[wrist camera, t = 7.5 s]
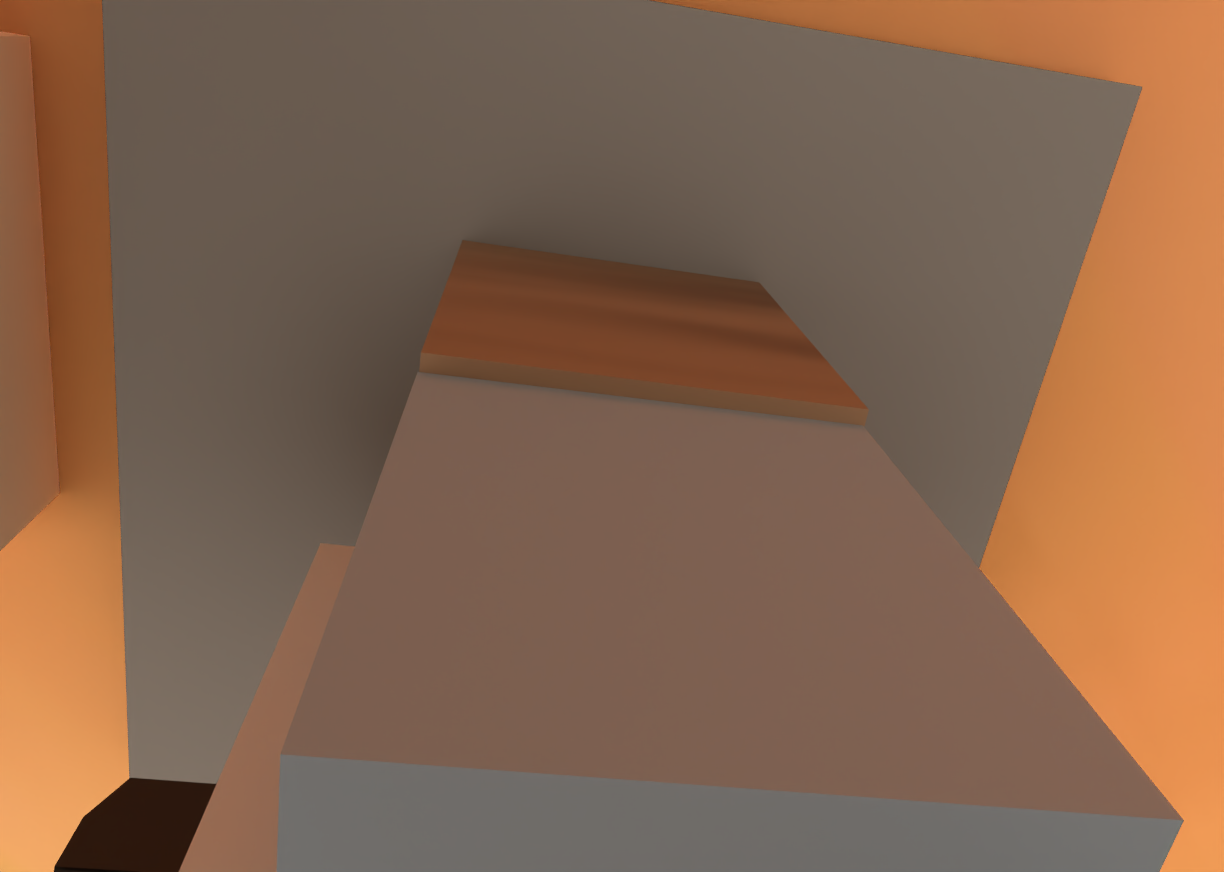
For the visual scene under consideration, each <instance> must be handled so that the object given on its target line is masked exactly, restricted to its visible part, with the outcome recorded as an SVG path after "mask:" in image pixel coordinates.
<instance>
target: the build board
mask: <svg viewBox="0 0 1224 872" xmlns="http://www.w3.org/2000/svg"><path fill="white" fill-rule="evenodd" d="M102 11H103V40H104V68H105V96H106V125H107V153H108V181H109V210H110V238H111V267H112V295H113V323H114V352H115V380H116V409H117V437H118V465H119V494H120V522H121V551H122V579H123V607H124V636H125V664H126V693H127V721H128V749H129V778H143V779H157V780H170V781H184V782H198V783H212V784H217V782H218V780H219V777H220V775H221V773H222V770H223V768H224V766H225V763H226V761H227V759H228V757H229V754H230V752H231V750H232V747H233V745H234V743H235V740H236V738H237V736H238V733H239V731H240V729H241V726H242V724H243V722H244V719H245V717H246V715H247V713H248V710H249V708H250V706H251V703H252V701H253V699H254V696H255V694H256V692H257V689H258V687H259V685H260V682H261V680H262V678H263V675H264V673H265V671H266V668H267V666H268V664H269V662H270V659H271V657H272V655H273V652H274V650H275V648H276V645H277V643H278V641H279V638H280V636H281V634H282V631H283V629H284V627H285V624H286V622H287V620H288V618H289V615H290V613H291V611H292V608H293V606H294V604H295V601H296V599H297V597H298V594H299V592H300V590H301V587H302V585H303V583H304V580H305V578H306V576H307V574H308V571H309V569H310V567H311V564H312V562H313V560H314V557H315V555H316V553H317V550H318V548H319V546H320V543H325V544H335V545H344V546H354V547H355V545H356V542H357V539H358V536H359V534H360V531H361V528H362V525H363V523H364V520H365V517H366V514H367V511H368V509H369V506H370V503H371V500H372V497H373V495H374V492H375V489H376V486H377V484H378V481H379V478H380V475H381V472H382V470H383V467H384V464H385V461H386V458H387V456H388V453H389V450H390V447H391V445H392V442H393V439H394V436H395V433H396V431H397V428H398V425H399V422H400V419H401V417H402V414H403V411H404V408H405V406H406V403H407V400H408V397H409V394H410V392H411V389H412V386H413V383H414V380H415V378H416V375H417V372H419V369H420V358H421V351H422V348H423V346H424V343H425V340H426V338H427V335H428V332H429V329H430V327H431V324H432V321H433V319H434V316H435V313H436V310H437V308H438V305H439V302H440V300H441V297H442V294H443V292H444V289H445V286H446V283H447V281H448V278H449V275H450V273H451V270H452V267H453V265H454V262H455V259H456V256H457V254H458V251H459V248H460V246H461V243H462V240H465V241H472V242H479V243H486V244H493V245H500V246H507V247H514V248H521V249H528V250H536V251H543V252H550V253H557V254H564V255H571V256H578V257H585V258H592V259H599V260H606V261H613V262H620V263H627V264H634V265H641V266H648V267H655V268H662V269H669V270H676V271H683V272H690V273H697V274H704V275H711V276H718V277H725V278H732V279H740V280H747V281H754V282H759V283H760V284H761V285H762V286H763V287H764V288H765V290H766V291H767V292H768V293H769V294H770V295H771V297H772V298H773V299H774V300H775V301H776V302H777V303H778V305H779V306H780V307H781V308H782V309H783V310H784V312H785V313H786V314H787V315H788V316H789V317H790V319H791V320H792V321H793V322H794V323H795V324H796V326H797V327H798V328H799V329H800V330H801V331H802V332H803V334H804V335H805V336H806V337H807V338H808V339H809V341H810V342H811V343H812V344H813V345H814V346H815V348H816V349H817V350H818V351H819V352H820V353H821V355H822V356H823V357H824V358H825V359H826V360H827V361H828V363H829V364H830V365H831V366H832V367H833V368H834V370H835V371H836V372H837V373H838V374H839V375H840V377H841V378H842V379H843V380H844V381H845V382H846V384H847V385H848V386H849V387H850V388H851V389H852V390H853V392H854V393H855V394H856V395H857V396H858V397H859V399H860V400H861V401H862V402H863V403H864V404H865V406H866V407H867V408H868V409H869V411H868V415H867V419H866V422H865V426H864V427H865V429H866V430H867V431H868V432H869V434H870V435H871V436H872V437H873V438H874V440H875V441H876V442H877V443H878V445H879V446H880V447H881V448H882V450H883V451H884V452H885V453H886V454H887V456H888V457H889V458H890V459H891V461H892V462H893V463H894V464H895V466H896V467H897V468H898V469H899V470H900V472H901V473H902V474H903V475H904V477H905V478H906V479H907V480H908V482H909V483H910V484H911V485H912V486H913V488H914V489H915V490H916V491H917V493H918V494H919V495H920V496H921V498H922V499H923V500H924V501H925V502H926V504H927V505H928V506H929V507H930V509H931V510H932V511H933V512H934V514H935V515H936V516H937V517H938V519H939V520H940V521H941V522H942V523H943V525H944V526H945V527H946V528H947V530H948V531H949V532H950V533H951V535H952V536H953V537H954V538H955V539H956V541H957V542H958V543H959V544H960V546H961V547H962V548H963V549H964V551H965V552H966V553H967V554H968V555H969V557H970V558H971V559H972V560H973V562H974V563H975V564H976V565H977V567H978V568H979V566H980V563H981V560H982V557H983V555H984V552H985V549H986V546H987V543H988V540H989V537H990V534H991V531H992V528H993V525H994V522H995V519H996V516H997V513H998V510H999V507H1000V505H1001V502H1002V499H1003V496H1004V493H1005V490H1006V487H1007V484H1008V481H1009V478H1010V475H1011V472H1012V469H1013V466H1014V463H1015V460H1016V457H1017V454H1018V452H1019V449H1020V446H1021V443H1022V440H1023V437H1024V434H1025V431H1026V428H1027V425H1028V422H1029V419H1030V416H1031V413H1032V410H1033V407H1034V404H1035V402H1036V399H1037V396H1038V393H1039V390H1040V387H1041V384H1042V381H1043V378H1044V375H1045V372H1046V369H1047V366H1048V363H1049V360H1050V357H1051V354H1052V352H1053V349H1054V346H1055V343H1056V340H1057V337H1058V334H1059V331H1060V328H1061V325H1062V322H1063V319H1064V316H1065V313H1066V310H1067V307H1068V304H1069V301H1070V299H1071V296H1072V293H1073V290H1074V287H1075V284H1076V281H1077V278H1078V275H1079V272H1080V269H1081V266H1082V263H1083V260H1084V257H1085V254H1086V251H1087V249H1088V246H1089V243H1090V240H1091V237H1092V234H1093V231H1094V228H1095V225H1096V222H1097V219H1098V216H1099V213H1100V210H1101V207H1102V204H1103V201H1104V199H1105V196H1106V193H1107V190H1108V187H1109V184H1110V181H1111V178H1112V175H1113V172H1114V169H1115V166H1116V163H1117V160H1118V157H1119V154H1120V151H1121V148H1122V146H1123V143H1124V140H1125V137H1126V134H1127V131H1128V128H1129V125H1130V122H1131V119H1132V116H1133V113H1134V110H1135V107H1136V104H1137V101H1138V98H1139V96H1140V93H1141V90H1142V87H1140V86H1135V85H1129V84H1123V83H1118V82H1112V81H1106V80H1101V79H1095V78H1089V77H1083V76H1078V75H1072V74H1066V73H1061V72H1055V71H1049V70H1043V69H1038V68H1032V67H1026V66H1021V65H1015V64H1009V63H1004V62H998V61H992V60H986V59H981V58H975V57H969V56H964V55H958V54H952V53H947V52H941V51H935V50H929V49H924V48H918V47H912V46H907V45H901V44H895V43H890V42H884V41H878V40H872V39H867V38H861V37H855V36H850V35H844V34H838V33H832V32H827V31H821V30H815V29H810V28H804V27H798V26H793V25H787V24H781V23H775V22H770V21H764V20H758V19H753V18H747V17H741V16H736V15H730V14H724V13H718V12H713V11H707V10H701V9H696V8H690V7H684V6H679V5H673V4H667V3H661V2H656V1H650V0H102Z"/></svg>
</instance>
